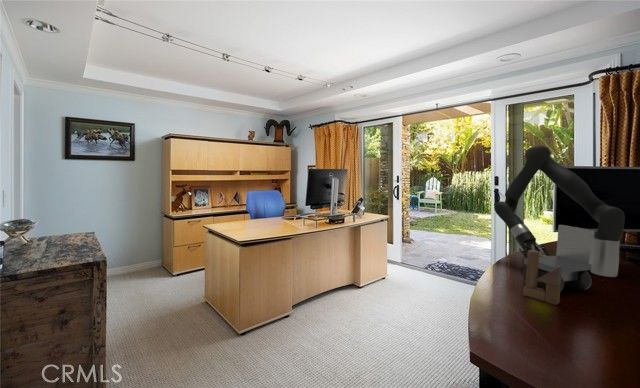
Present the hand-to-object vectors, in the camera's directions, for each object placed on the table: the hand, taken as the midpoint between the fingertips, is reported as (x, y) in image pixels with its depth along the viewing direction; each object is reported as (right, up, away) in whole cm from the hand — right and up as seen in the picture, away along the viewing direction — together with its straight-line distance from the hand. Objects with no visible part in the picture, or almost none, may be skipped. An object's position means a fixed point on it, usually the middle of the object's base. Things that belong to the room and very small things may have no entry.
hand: (544, 265), depth 139 cm
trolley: (-5, -6, -12) cm, 14 cm away
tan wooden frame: (-20, -7, -24) cm, 32 cm away
